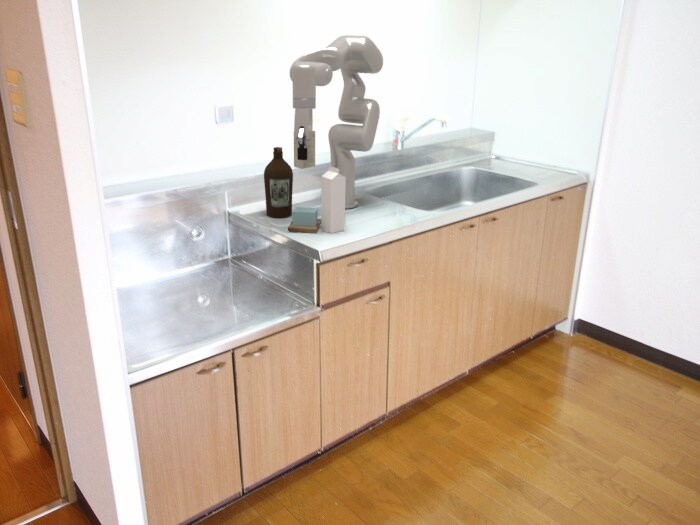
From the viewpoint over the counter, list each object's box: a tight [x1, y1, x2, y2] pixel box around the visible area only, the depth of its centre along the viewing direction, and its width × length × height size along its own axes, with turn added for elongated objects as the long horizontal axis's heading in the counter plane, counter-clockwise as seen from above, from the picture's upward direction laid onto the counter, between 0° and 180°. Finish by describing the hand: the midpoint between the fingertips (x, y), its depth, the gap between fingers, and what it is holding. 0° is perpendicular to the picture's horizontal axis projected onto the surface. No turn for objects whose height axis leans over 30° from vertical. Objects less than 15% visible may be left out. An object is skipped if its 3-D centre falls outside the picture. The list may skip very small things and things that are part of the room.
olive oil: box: [263, 146, 294, 219], centre depth 226 cm, size 11×11×25 cm
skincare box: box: [293, 130, 316, 170], centre depth 207 cm, size 6×4×12 cm
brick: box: [291, 206, 319, 227], centre depth 215 cm, size 6×8×5 cm
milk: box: [320, 165, 346, 234], centre depth 211 cm, size 6×6×22 cm
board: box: [287, 218, 321, 234], centre depth 216 cm, size 12×10×2 cm
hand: (304, 157), depth 208 cm, fingers closed on skincare box, 7 cm apart
